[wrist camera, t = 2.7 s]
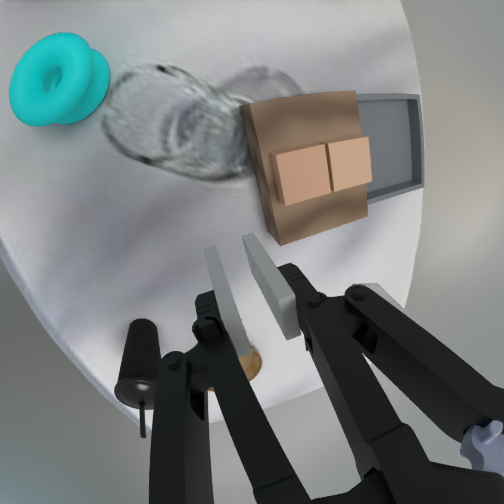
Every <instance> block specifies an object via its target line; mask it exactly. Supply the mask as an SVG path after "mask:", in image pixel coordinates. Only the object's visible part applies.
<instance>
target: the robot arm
mask: <svg viewBox="0 0 504 504" xmlns="http://www.w3.org/2000/svg"><path fill="white" fill-rule="evenodd" d="M242 239H243V242H244V246H245V250H246V253H247V257H248V261H249V264H250V268H251V272H252V274H253V276H254V278H255V280H256V282H257V284H258V286H259V288H260V289H261V291H262V293H263V295H264V297H265V299H266V301H267V303H268V305H269V307H270V309H271V311H272V313H273V315H274V317H275V319H276V321H277V323H278V325H279V326H280V328H281V330H282V332H283V334H284V336H285V338H286V340H289V339H292V338H295V337H297V336H300V335H301V331H302V332H303V334H304V338H305V346H306V351H308V350H309V352H310V354H311V357H312V359H313V361H314V363H315V366H316V368H317V370H318V373H319V375H320V377H321V380H322V382H323V384H324V387H325V389H326V391H327V393H328V396H329V398H330V400H331V403H332V405H333V407H334V410H335V412H336V414H337V417H338V419H339V422H340V424H341V426H342V429H343V431H344V433H345V436H346V438H347V440H348V443H349V445H350V448H351V450H352V452H353V455H354V458H355V461H356V467H357V470H358V473H359V475H360V478H361V482H360V483H359V484H358V485H356V486H355V487H354V488H352V489H351V490H350V491H348V492H346V493H342V494H337V495H332V496H327V497H322V498H316V499H313V500H311V499H310V498H309V495H308V494H307V492H306V490H305V489H304V487H303V485H302V483H301V482H300V480H299V478H298V476H297V475H296V473H295V471H294V469H293V467H292V466H291V464H290V462H289V460H288V459H287V457H286V455H285V453H284V451H283V449H282V447H281V445H280V443H279V442H278V439H277V438H276V436H275V434H274V432H273V430H272V428H271V426H270V424H269V422H268V420H267V418H266V416H265V414H264V412H263V410H262V408H261V406H260V404H259V402H258V400H257V398H256V396H255V393H254V391H253V389H252V387H251V385H250V383H249V381H248V379H247V376H246V374H245V372H244V370H243V368H242V366H241V363H240V361H239V359H238V358H240V357H243V356H246V355H249V354H251V353H253V351H252V348H251V346H250V343H249V340H248V337H247V335H246V332H245V329H244V326H243V324H242V321H241V318H240V315H239V312H238V310H237V307H236V304H235V301H234V298H233V295H232V293H231V290H230V287H229V284H228V281H227V278H226V275H225V273H224V270H223V267H222V264H221V261H220V258H219V255H218V252H217V249H216V246H212V247H209V248H206V249H204V253H205V257H206V261H207V265H208V269H209V273H210V277H211V281H212V285H213V289H214V290H212V291H209V292H206V293H203V294H200V295H197V298H196V301H195V306H196V313H197V320H196V321H195V322H194V324H193V326H192V332H193V333H194V335H195V337H196V339H197V341H198V343H197V345H196V346H195V347H194V348H192V349H191V350H189V351H188V352H186V353H182V352H180V351H173V352H170V353H168V354H166V355H165V356H164V357H163V358H162V359H161V361H160V363H159V369H158V376H157V384H156V393H155V402H154V412H153V423H152V436H151V451H150V472H149V504H214V498H213V487H212V475H211V459H210V441H209V419H208V389H209V388H211V387H213V389H214V392H215V394H216V397H217V400H218V403H219V406H220V409H221V411H222V414H223V417H224V419H225V422H226V424H227V427H228V430H229V432H230V435H231V437H232V440H233V442H234V445H235V447H236V450H237V452H238V455H239V457H240V459H241V462H242V464H243V466H244V469H245V471H246V473H247V476H248V478H249V480H250V482H251V485H252V487H253V494H254V497H255V500H256V502H257V504H504V477H503V476H502V475H503V473H504V389H502V388H500V387H497V386H494V385H492V384H491V383H490V382H489V381H488V380H486V379H485V378H484V377H483V376H482V375H480V374H479V373H478V372H477V371H476V370H475V369H473V368H472V367H471V366H470V365H469V364H467V363H466V362H465V361H464V360H462V359H461V358H460V357H459V356H458V355H456V354H455V353H454V352H453V351H451V350H450V349H449V348H448V347H446V346H445V345H444V344H443V343H441V342H440V341H439V340H438V339H436V338H435V337H434V336H433V335H431V334H430V333H429V332H427V331H426V330H425V329H424V328H422V327H421V326H420V325H418V324H417V323H416V322H415V321H413V320H412V319H411V318H409V317H408V316H407V315H405V314H404V313H403V312H401V311H400V310H399V309H397V308H396V307H395V306H393V305H392V304H391V303H389V302H388V301H387V300H385V299H384V298H383V297H381V296H380V295H378V294H377V293H376V292H374V291H373V290H372V289H370V288H369V287H367V286H365V285H353V286H351V287H349V288H348V289H347V290H346V292H345V295H343V296H337V297H327V296H326V295H325V294H324V293H321V292H317V291H316V289H315V288H314V287H313V286H312V284H311V283H310V282H309V280H308V279H307V278H306V277H305V275H304V274H303V273H302V272H301V270H300V269H299V268H298V267H297V266H296V265H294V264H292V263H288V264H285V265H282V266H279V267H276V265H275V264H274V262H273V261H272V259H271V258H270V256H269V255H268V253H267V252H266V251H265V249H264V248H263V246H262V245H261V243H260V242H259V240H258V239H257V237H256V236H255V234H254V233H252V234H248V235H245V236H242ZM300 329H301V331H300ZM362 353H363V354H364V355H365V356H366V357H367V358H368V359H369V360H370V361H371V362H372V363H373V364H374V365H375V366H376V367H377V368H378V369H379V370H380V371H381V372H383V374H384V375H386V376H387V377H388V378H389V379H390V380H391V381H392V382H393V383H394V384H395V385H396V386H397V387H398V388H399V389H400V390H401V391H402V392H403V393H404V394H405V395H406V396H407V397H408V398H409V399H410V400H411V401H412V402H413V403H414V404H415V405H416V406H417V407H418V408H419V409H420V410H421V411H422V412H423V413H425V415H426V416H427V417H429V418H430V419H431V420H432V421H433V422H434V423H435V424H436V425H437V426H438V427H439V428H440V429H441V430H442V431H443V432H444V433H445V434H447V435H448V436H449V437H451V438H452V439H454V440H456V441H458V442H460V443H461V449H460V454H461V455H462V456H464V457H466V458H467V459H468V460H469V461H470V462H471V464H472V469H466V468H460V467H455V466H449V465H444V464H440V463H436V462H431V461H429V459H428V458H427V455H426V454H425V452H424V450H423V448H422V446H421V444H420V442H419V440H418V438H417V437H416V435H415V433H414V431H413V430H412V428H411V427H410V426H409V425H408V424H405V423H402V422H401V421H400V419H399V417H398V416H397V414H396V412H395V410H394V408H393V407H392V405H391V403H390V401H389V399H388V397H387V396H386V394H385V392H384V390H383V389H382V387H381V385H380V383H379V382H378V380H377V378H376V376H375V375H374V373H373V371H372V369H371V368H370V366H369V364H368V363H367V361H366V359H365V358H364V356H363V354H362Z"/></svg>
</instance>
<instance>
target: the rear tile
mask: <svg viewBox="0 0 504 504" xmlns="http://www.w3.org/2000/svg"><path fill="white" fill-rule="evenodd" d="M320 143H321V144H325V151H326V158H327V165H328V173H329V181H330V189H331V190H332V191H334V192H336V191H339V190H343V189H346V188H350V187H353V186H357V185H361V184H364V183H368V182H372V173H371V159H370V148H369V139H368V137H367V136H362V135H355V136H349V137H343V138H337V139H332V140H327V141H321V142H320Z"/></svg>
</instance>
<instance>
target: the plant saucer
mask: <svg viewBox="0 0 504 504" xmlns="http://www.w3.org/2000/svg"><path fill="white" fill-rule="evenodd" d="M252 351H253V353H251V354H249V355H246V356H243V357H240V358H238V359H239V361H240V363H241V366H242V368H243V370H244V372H245V374H246V376H247V379H248V381H249V382H250V381H251V380H252V379H254V378H255V377H256V376H257V374H258V373H259V372H260V370H261V367H262V358H261V356H260V354H259V353H258V352H257V351H256V350H255V349H253V348H252ZM208 391H214V389H213V387H211V388H209V389H208Z"/></svg>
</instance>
